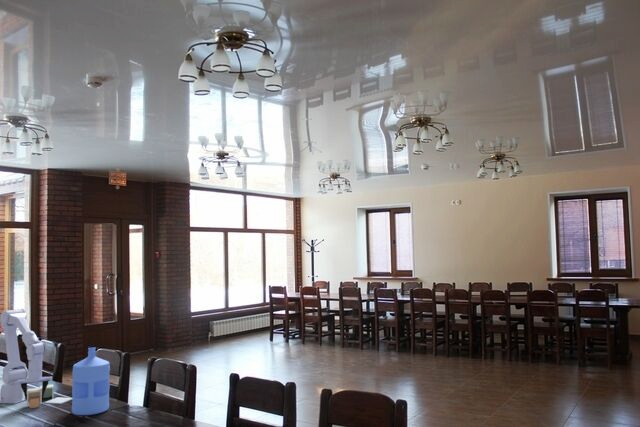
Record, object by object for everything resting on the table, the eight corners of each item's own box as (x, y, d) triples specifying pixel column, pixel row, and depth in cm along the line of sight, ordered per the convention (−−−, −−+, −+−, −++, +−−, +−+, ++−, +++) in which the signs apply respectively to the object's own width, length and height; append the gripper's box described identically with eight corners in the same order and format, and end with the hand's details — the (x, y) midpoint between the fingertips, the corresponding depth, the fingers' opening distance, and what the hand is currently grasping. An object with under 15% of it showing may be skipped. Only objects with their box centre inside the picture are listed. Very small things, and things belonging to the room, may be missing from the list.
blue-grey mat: (44, 403, 251) (44, 402, 251) (57, 398, 260) (57, 397, 260) (60, 404, 250) (61, 403, 250) (73, 399, 258) (73, 398, 258)
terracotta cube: (29, 406, 247) (29, 397, 247) (38, 405, 249) (39, 396, 249) (29, 408, 243) (29, 399, 244) (39, 407, 245) (39, 398, 246)
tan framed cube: (26, 402, 248) (27, 389, 248) (41, 400, 250) (41, 387, 251) (26, 405, 242) (27, 392, 243) (41, 403, 245) (41, 390, 246)
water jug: (72, 408, 242) (73, 346, 244) (108, 404, 248) (109, 344, 251) (70, 417, 228) (72, 352, 230) (109, 413, 234) (110, 349, 236)
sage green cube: (39, 398, 261) (39, 385, 261) (52, 396, 264) (53, 384, 264) (39, 400, 256) (39, 388, 256) (53, 399, 258) (53, 386, 259)
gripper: (17, 372, 241) (16, 402, 240) (52, 368, 248) (51, 398, 246) (17, 369, 247) (16, 399, 246) (52, 366, 254) (51, 395, 253)
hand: (34, 398), depth 247 cm, fingers closed on tan framed cube, 6 cm apart
